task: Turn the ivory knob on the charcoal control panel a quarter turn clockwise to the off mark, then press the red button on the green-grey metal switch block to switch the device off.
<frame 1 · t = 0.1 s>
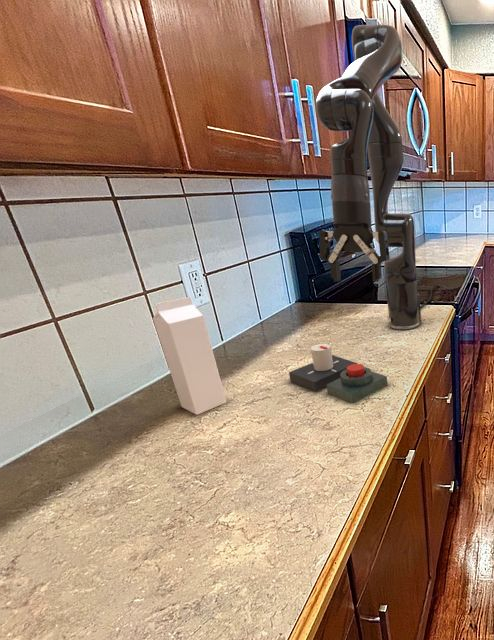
hand: (356, 281, 90), 22 cm above the counter, tool pointing down, fingers open, 8 cm apart
power knob: (322, 356, 96), point 5 cm above the counter, hinge at 90.0°
switch block: (358, 389, 92), on the counter
milk: (204, 405, 86), on the counter
off button: (355, 370, 90), point 4 cm above the counter, slide at 0.1 cm
control panel: (325, 377, 98), on the counter
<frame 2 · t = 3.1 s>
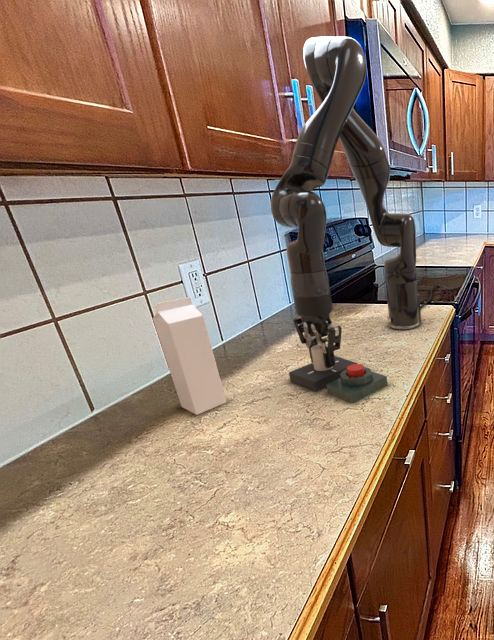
hand: (323, 363, 96), 3 cm above the counter, tool pointing down, fingers closed on power knob, 4 cm apart
power knob: (322, 356, 96), point 5 cm above the counter, hinge at 90.2°, touching gripper
everything else where it was.
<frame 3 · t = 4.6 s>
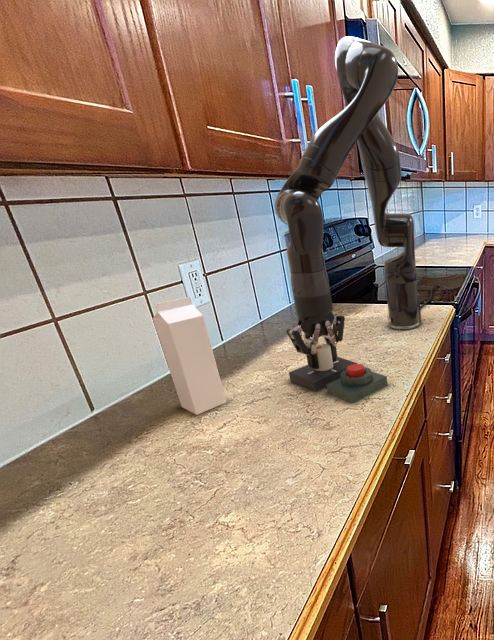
hand: (323, 364, 96), 3 cm above the counter, tool pointing down, fingers closed on power knob, 4 cm apart
power knob: (322, 356, 96), point 5 cm above the counter, hinge at -4.2°, touching gripper
everything else where it was.
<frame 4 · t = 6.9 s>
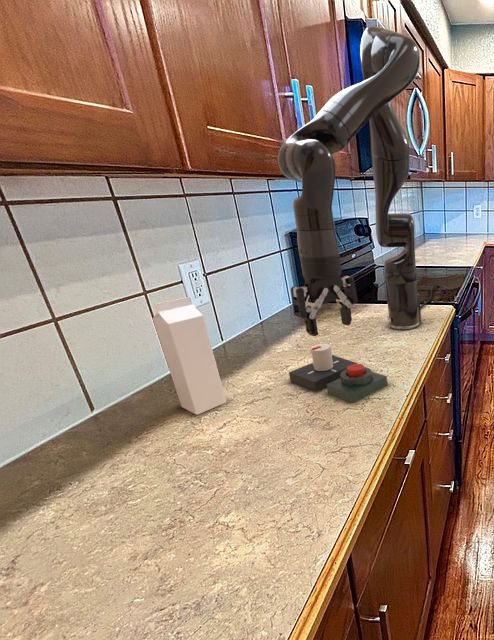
hand: (330, 329, 90), 13 cm above the counter, tool pointing down, fingers open, 8 cm apart
power knob: (322, 356, 96), point 5 cm above the counter, hinge at -4.3°
everything else where it was.
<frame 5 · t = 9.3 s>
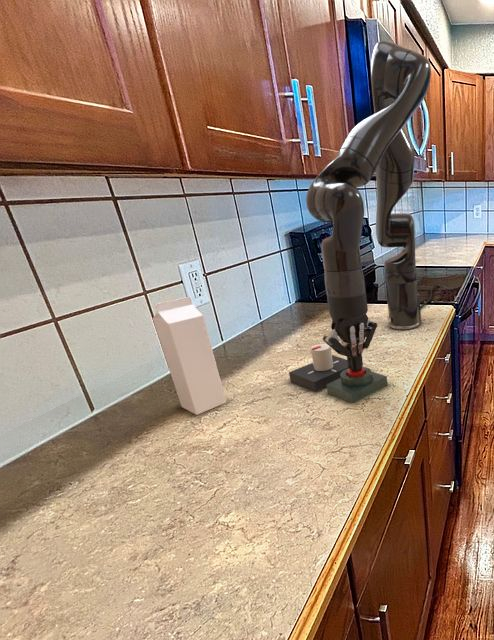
hand: (356, 370, 90), 5 cm above the counter, tool pointing down, fingers closed
off button: (356, 373, 91), point 4 cm above the counter, slide at -0.6 cm, touching gripper
everything else where it was.
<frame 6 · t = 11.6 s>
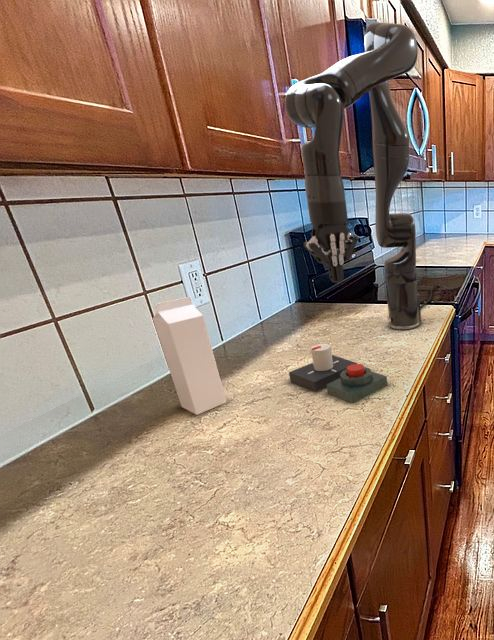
hand: (337, 281, 94), 21 cm above the counter, tool pointing down, fingers closed
off button: (355, 370, 90), point 4 cm above the counter, slide at 0.1 cm
everything else where it was.
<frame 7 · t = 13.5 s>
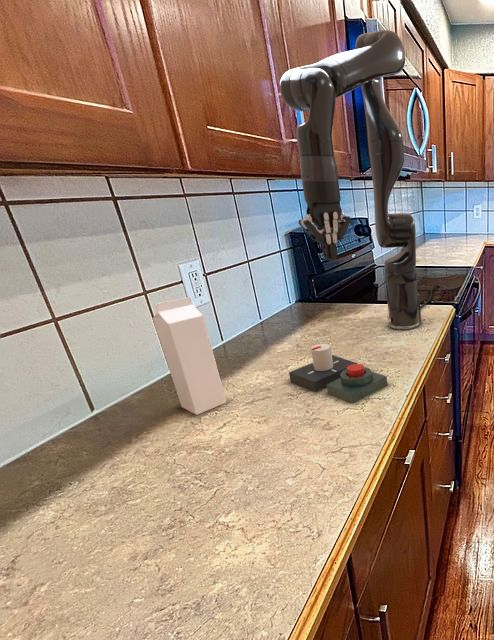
hand: (331, 260, 98), 25 cm above the counter, tool pointing down, fingers closed
nothing on the counter moved.
at the end: power knob at -4° (first picture: +90°); off button pushed in 1.1 cm at the most during the clip, back to where it started at the end; off button slide at 0.1 cm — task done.
